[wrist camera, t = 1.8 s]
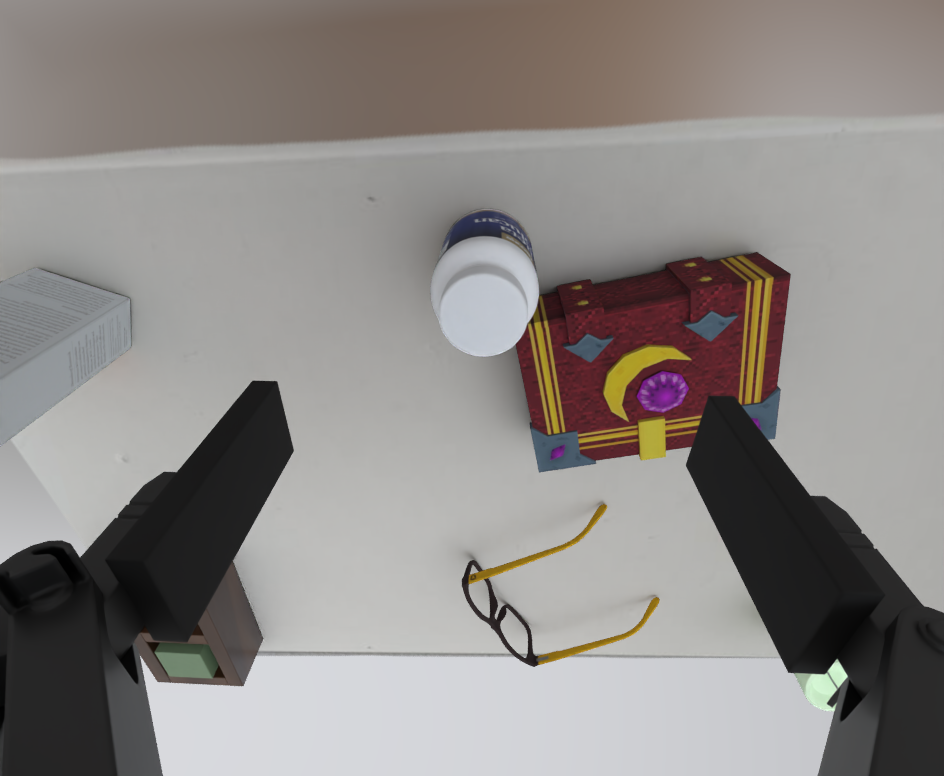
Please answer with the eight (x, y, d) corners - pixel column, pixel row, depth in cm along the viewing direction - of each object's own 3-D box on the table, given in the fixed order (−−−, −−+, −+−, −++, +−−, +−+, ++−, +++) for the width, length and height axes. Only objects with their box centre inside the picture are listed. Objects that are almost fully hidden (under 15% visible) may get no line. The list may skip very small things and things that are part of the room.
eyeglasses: (455, 551, 44) (452, 590, 41) (605, 501, 40) (615, 539, 37) (523, 632, 51) (525, 671, 47) (658, 596, 46) (671, 636, 43)
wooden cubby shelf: (183, 635, 54) (157, 682, 50) (129, 534, 45) (91, 581, 41) (263, 639, 53) (243, 686, 49) (223, 538, 45) (195, 586, 40)
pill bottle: (543, 220, 28) (563, 276, 20) (516, 303, 31) (523, 382, 23) (454, 195, 28) (436, 242, 19) (434, 282, 31) (412, 355, 22)
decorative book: (506, 294, 31) (508, 328, 27) (777, 240, 28) (826, 267, 24) (534, 433, 37) (539, 478, 32) (760, 398, 34) (798, 442, 30)
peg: (198, 624, 52) (169, 676, 48) (185, 599, 50) (153, 652, 45) (237, 626, 52) (212, 678, 48) (227, 601, 50) (199, 654, 45)
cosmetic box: (43, 321, 33) (-155, 426, 23) (36, 265, 31) (-187, 353, 21) (135, 350, 34) (-17, 463, 24) (134, 297, 32) (-33, 397, 22)
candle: (769, 589, 45) (819, 680, 38) (825, 588, 45) (885, 681, 38) (756, 620, 48) (800, 711, 41) (809, 620, 48) (863, 712, 41)
